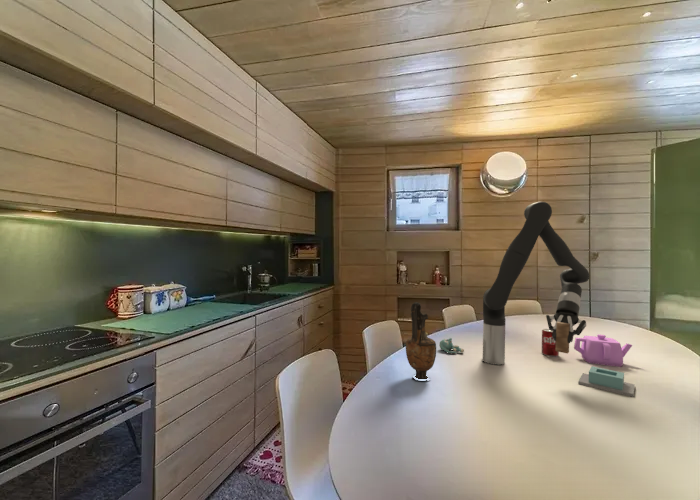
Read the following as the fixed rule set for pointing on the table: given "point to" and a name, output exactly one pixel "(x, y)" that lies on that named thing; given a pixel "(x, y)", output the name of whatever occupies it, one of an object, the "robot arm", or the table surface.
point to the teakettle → (601, 350)
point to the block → (562, 337)
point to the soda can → (548, 344)
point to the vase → (420, 344)
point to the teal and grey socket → (607, 381)
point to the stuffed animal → (449, 346)
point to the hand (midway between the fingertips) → (561, 340)
